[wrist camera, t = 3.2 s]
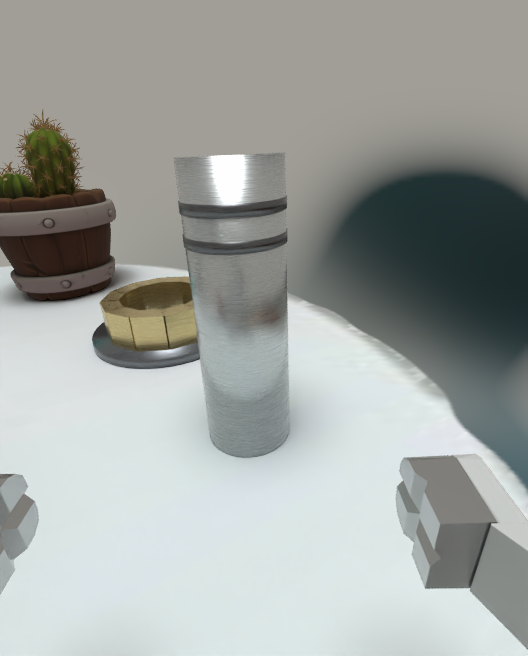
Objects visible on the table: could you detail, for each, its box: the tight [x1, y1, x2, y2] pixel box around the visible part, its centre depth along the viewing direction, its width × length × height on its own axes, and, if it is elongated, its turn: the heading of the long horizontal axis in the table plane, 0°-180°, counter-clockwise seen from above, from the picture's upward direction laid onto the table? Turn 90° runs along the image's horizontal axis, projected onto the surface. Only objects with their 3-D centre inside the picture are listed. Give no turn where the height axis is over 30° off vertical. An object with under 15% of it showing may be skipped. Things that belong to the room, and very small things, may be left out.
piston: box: [174, 153, 289, 457], centre depth 19 cm, size 5×5×15 cm
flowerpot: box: [0, 111, 116, 300], centre depth 45 cm, size 14×15×20 cm
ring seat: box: [92, 277, 200, 368], centre depth 35 cm, size 13×13×4 cm
